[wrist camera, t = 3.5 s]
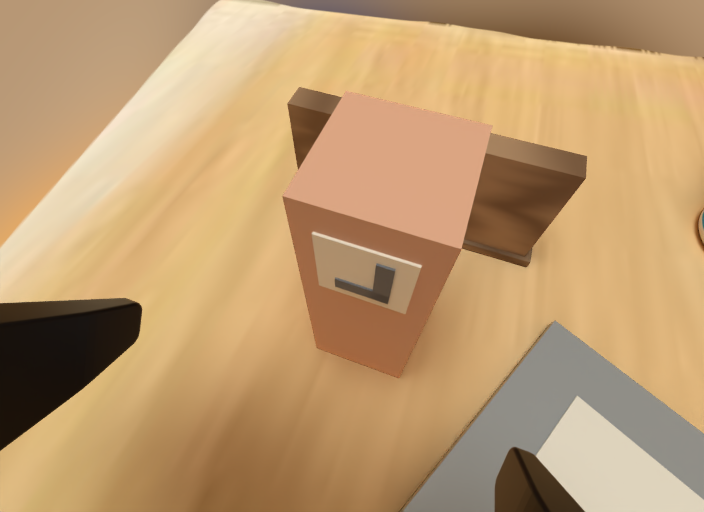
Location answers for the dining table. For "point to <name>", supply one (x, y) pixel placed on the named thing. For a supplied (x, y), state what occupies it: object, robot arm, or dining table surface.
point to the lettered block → (381, 223)
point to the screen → (482, 182)
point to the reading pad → (573, 438)
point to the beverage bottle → (701, 225)
